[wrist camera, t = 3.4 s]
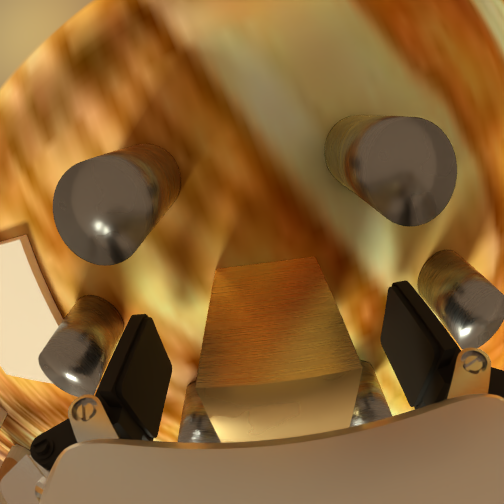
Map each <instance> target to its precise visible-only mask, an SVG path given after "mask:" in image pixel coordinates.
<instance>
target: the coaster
mask: <svg viewBox="0 0 504 504" xmlns="http://www.w3.org/2000/svg"><path fill="white" fill-rule="evenodd" d="M62 321H63V318H62V316H61V314H60V312H59V310H58V308H57V306H56V304H55V302H54V300H53V298H52V296H51V294H50V291H49V289H48V287H47V285H46V282H45V280H44V278H43V276H42V273H41V271H40V268H39V266H38V263H37V261H36V258H35V256H34V253H33V250H32V248H31V245H30V242H29V239H28V236H27V235H23V236H19V237H16V238H12V239H9V240H5V241H2V242H0V366H1V367H2V369H3V370H4V372H5V373H6V374H7V375H12V376H16V377H21V378H26V379H31V380H36V381H42V382H47V383H52V382H51V381H50V380H49V379H48V378H47V376H46V375H45V374H44V372H43V371H42V369H41V367H40V365H39V361H38V357H39V355H40V353H41V352H42V350H43V348H44V347H45V346H46V344H47V343H48V341H49V340H50V338H51V337H52V335H53V334H54V332H55V331H56V330H57V328H58V327H59V325H60V324H61V323H62ZM53 384H54V383H53ZM99 384H100V382H99ZM99 384H98V386H97V389H98V387H99Z"/></svg>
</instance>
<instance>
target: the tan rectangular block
mask: <svg viewBox="0 0 504 504" xmlns="http://www.w3.org/2000/svg"><path fill="white" fill-rule="evenodd" d="M361 373H362V365H361V363H360V360H359V358H358V355H357V353H356V350H355V348H354V345H353V343H352V340H351V338H350V335H349V333H348V331H347V328H346V326H345V323H344V321H343V319H342V316H341V314H340V312H339V309H338V307H337V305H336V302H335V300H334V298H333V295H332V293H331V291H330V289H329V286H328V284H327V282H326V280H325V277H324V275H323V273H322V271H321V268H320V266H319V264H318V262H317V260H316V258H315V256H314V257H306V258H299V259H291V260H283V261H276V262H268V263H260V264H252V265H244V266H236V267H228V268H220V269H216V271H215V276H214V282H213V287H212V292H211V298H210V303H209V309H208V314H207V320H206V326H205V332H204V337H203V343H202V349H201V355H200V361H199V368H198V374H197V380H196V387H195V389H196V391H197V393H198V395H199V397H200V400H201V402H202V404H203V406H204V408H205V410H206V413H207V415H208V417H209V419H210V421H211V423H212V425H213V427H214V429H215V431H216V433H217V435H218V437H219V439H220V441H221V443H226V442H247V441H261V440H272V439H281V438H289V437H297V436H304V435H311V434H317V433H323V432H328V431H333V430H339V429H344V428H348V427H350V423H351V419H352V415H353V410H354V406H355V402H356V397H357V393H358V388H359V383H360V378H361Z"/></svg>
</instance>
